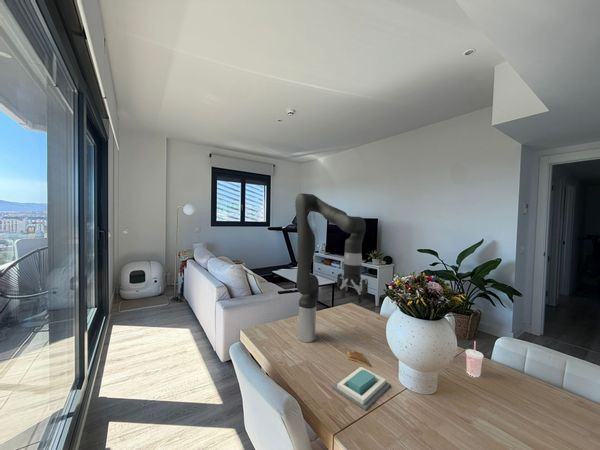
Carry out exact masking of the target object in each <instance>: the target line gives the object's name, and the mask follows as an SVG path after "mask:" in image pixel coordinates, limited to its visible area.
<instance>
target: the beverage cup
mask: <svg viewBox="0 0 600 450" xmlns="http://www.w3.org/2000/svg"><path fill="white" fill-rule="evenodd" d="M476 343H477V341H476V340H474V344H473V349H471V348H466V349H465V355H466V361H465V362H466V374H467V373H468V374H469V375H468V374H467V375H468V376H470V375H471V376H470V377H472V376H473V377H472V378H475V377H479V376H480V377H481V373H482V372H481V371H482V365H483V364H482V363H483V359H484V354H483V353H482V352H480V351H477V350H476ZM480 377H479V378H480Z"/></svg>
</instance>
